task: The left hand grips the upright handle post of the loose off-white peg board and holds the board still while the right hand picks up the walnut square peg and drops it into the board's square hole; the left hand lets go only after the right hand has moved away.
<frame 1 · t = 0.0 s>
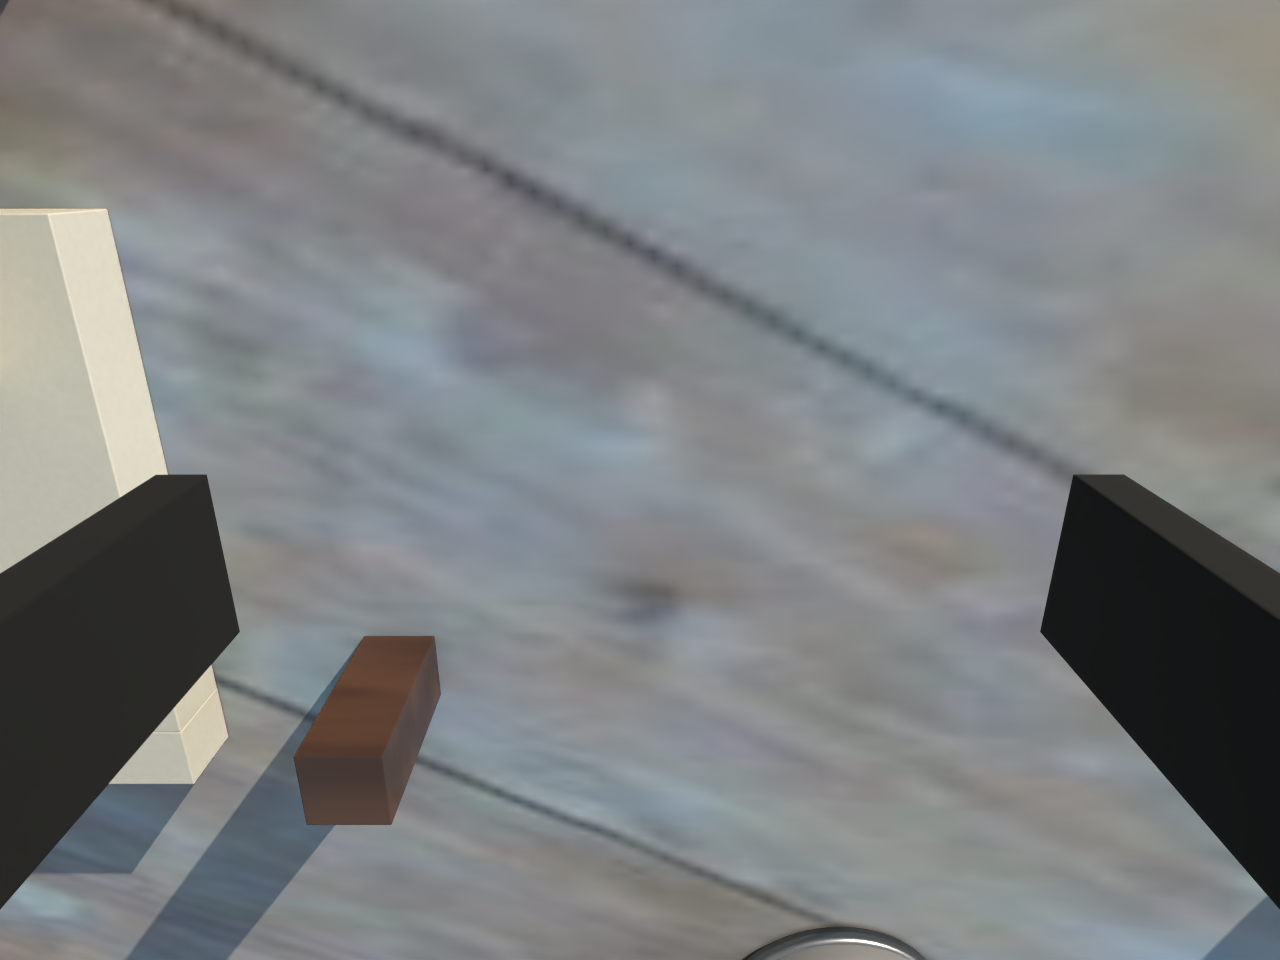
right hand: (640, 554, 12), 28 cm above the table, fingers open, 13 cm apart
peg: (403, 665, 46), on the table
peg board: (63, 506, 43), on the table
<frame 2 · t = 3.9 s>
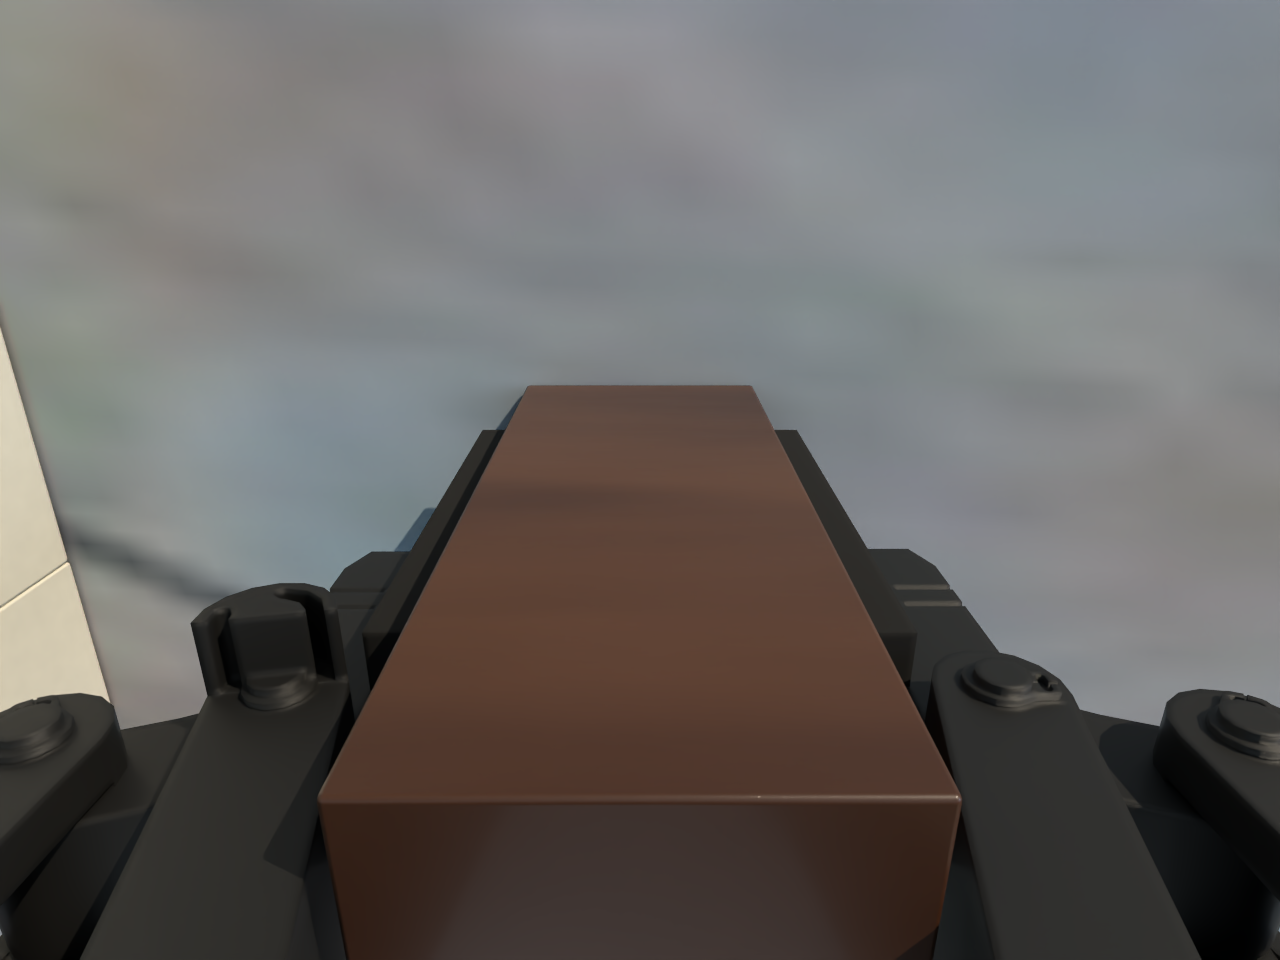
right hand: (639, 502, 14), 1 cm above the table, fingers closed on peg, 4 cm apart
peg: (639, 489, 15), on the table, touching right hand
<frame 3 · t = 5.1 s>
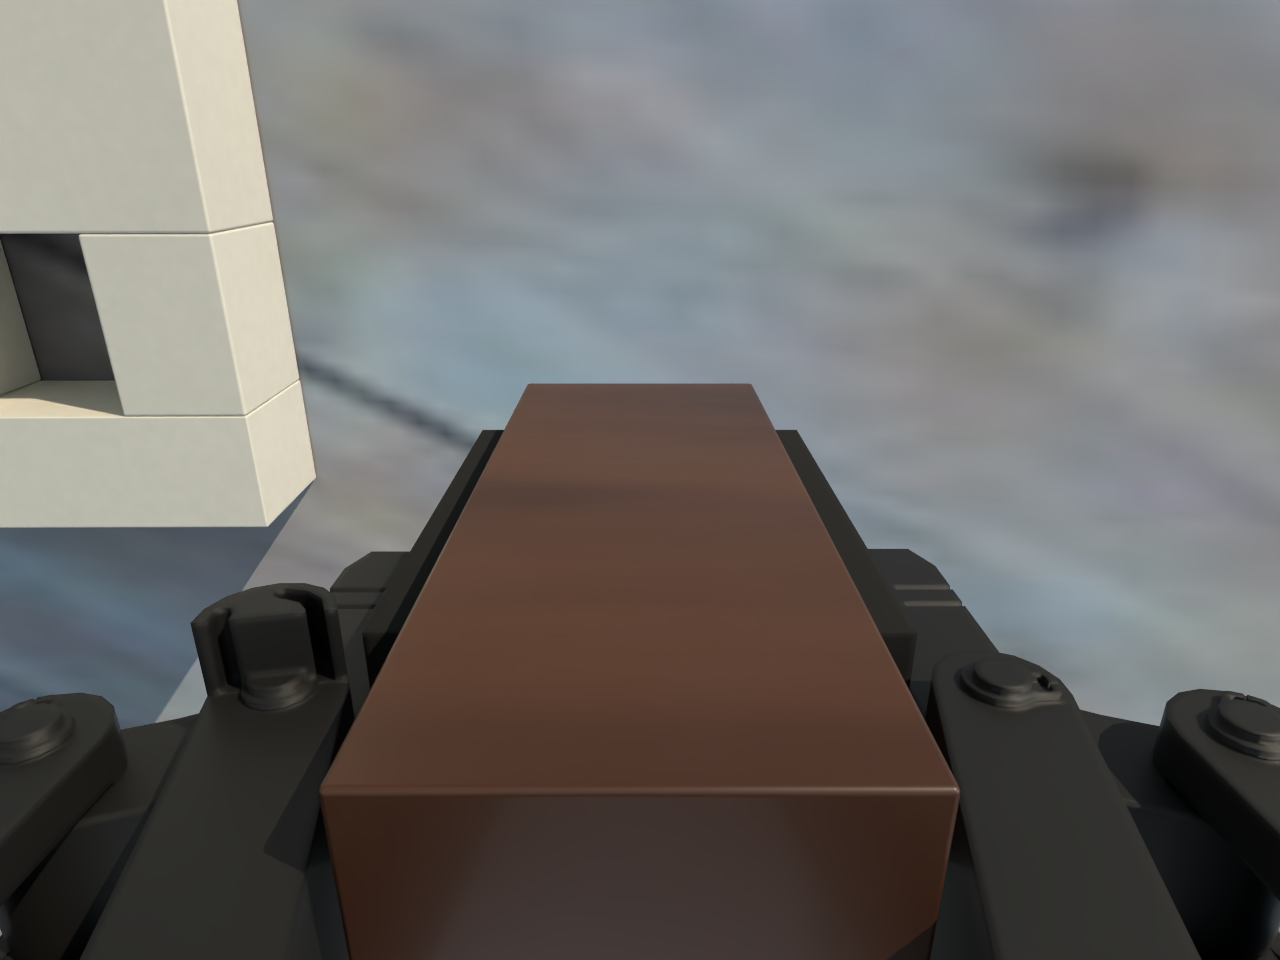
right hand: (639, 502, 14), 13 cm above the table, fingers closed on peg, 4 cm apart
peg: (639, 487, 15), point 12 cm above the table, touching right hand
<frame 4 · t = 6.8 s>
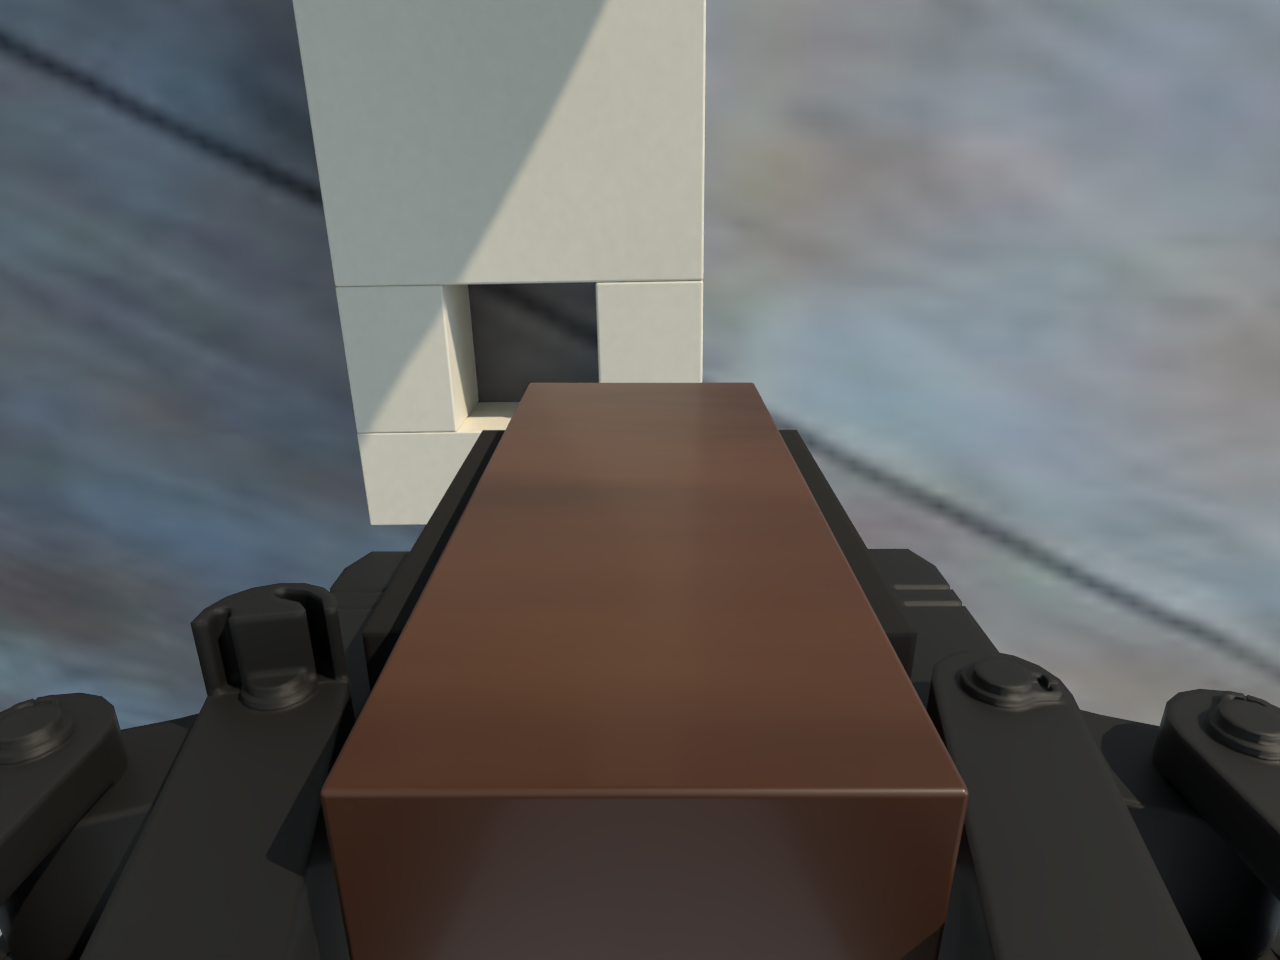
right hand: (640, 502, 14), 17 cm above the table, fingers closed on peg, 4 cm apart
peg: (641, 486, 15), point 17 cm above the table, touching right hand
peg board: (522, 75, 27), on the table, touching left hand
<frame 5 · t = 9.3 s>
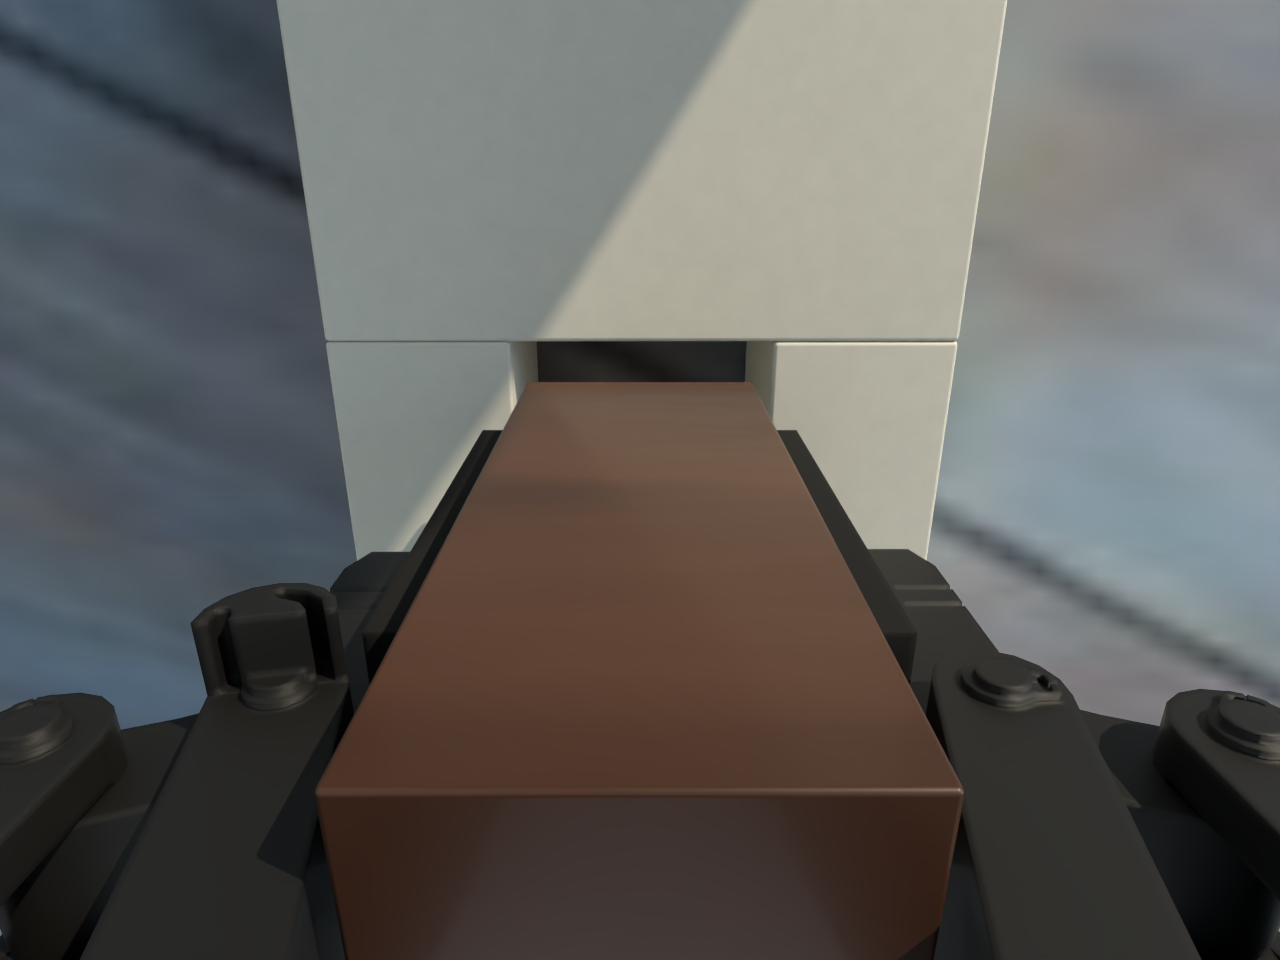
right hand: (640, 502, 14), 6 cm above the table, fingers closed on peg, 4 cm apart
peg: (639, 486, 15), point 5 cm above the table, touching right hand
when the right hand's fingers open (6 cm above the table, at t = 9.9 s): peg drops 5 cm, resting in peg board.
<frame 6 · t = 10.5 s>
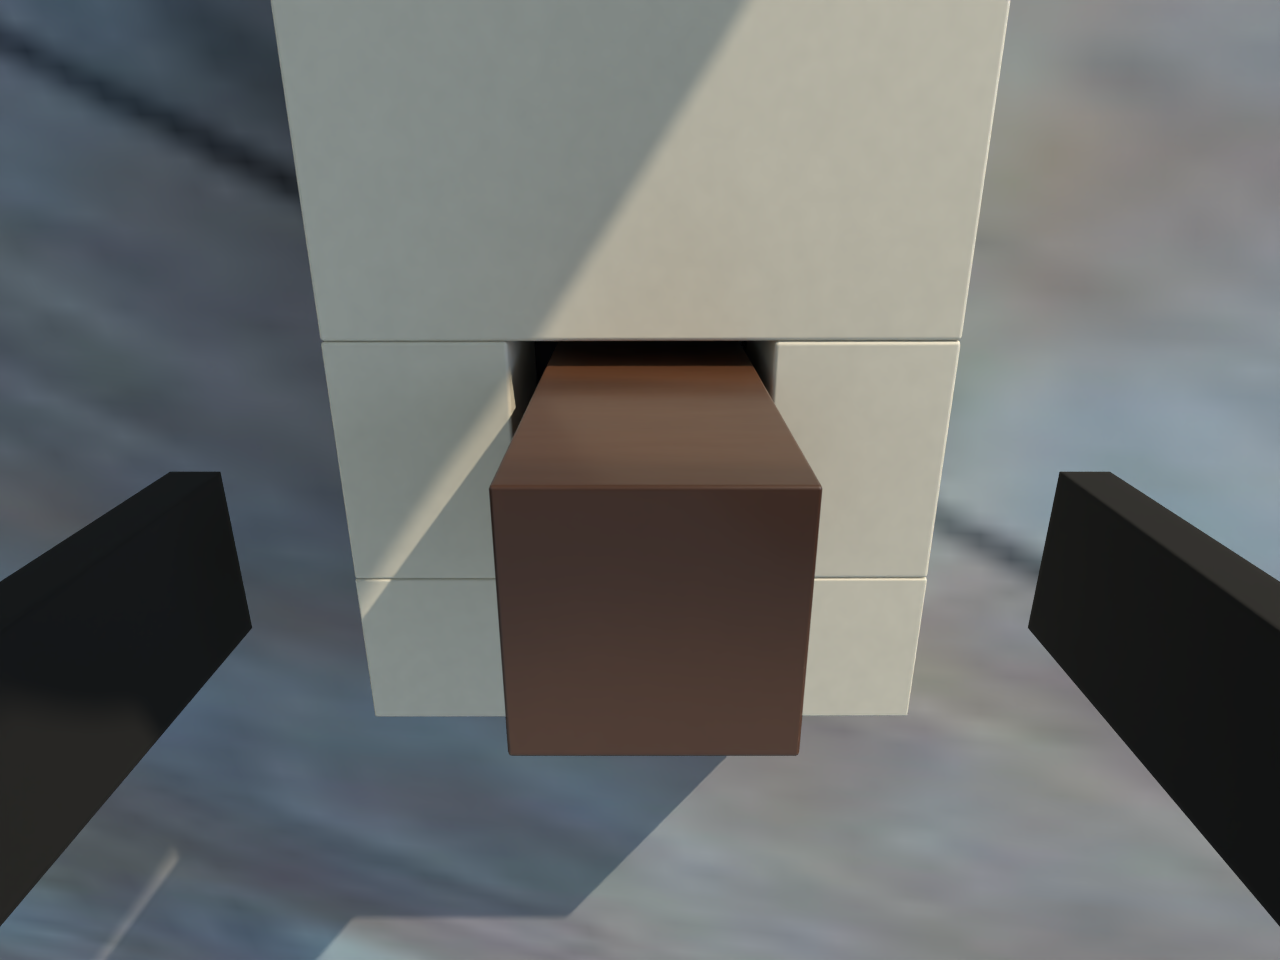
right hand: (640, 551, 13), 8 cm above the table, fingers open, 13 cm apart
peg: (647, 410, 20), resting in peg board
when the left hand's fingers open (6 cm above the table, at t = 13.5 s): peg board stays where it is, on the table.
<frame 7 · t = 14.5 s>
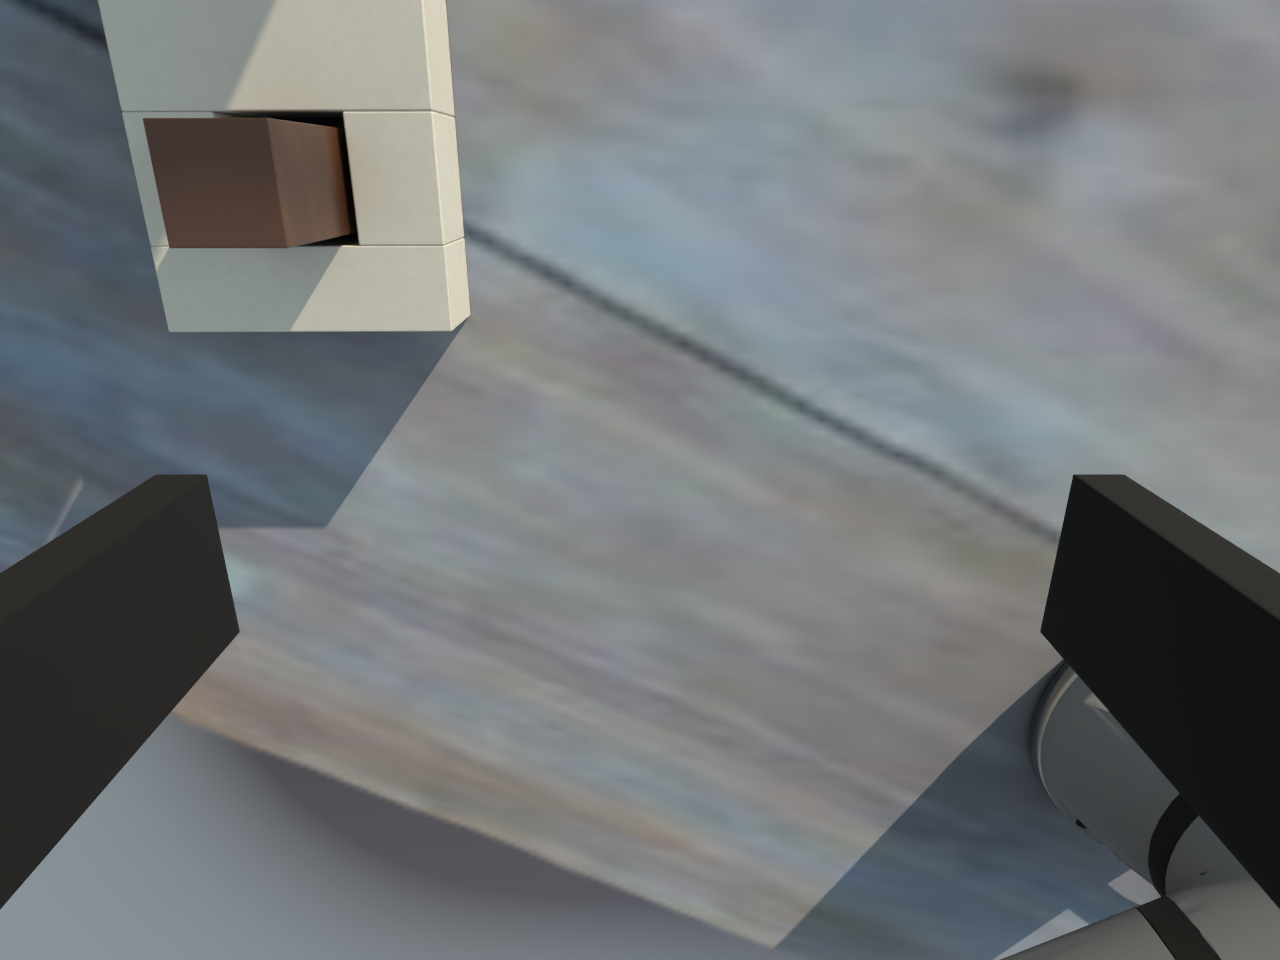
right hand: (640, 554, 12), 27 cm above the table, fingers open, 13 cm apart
peg: (328, 180, 35), resting in peg board
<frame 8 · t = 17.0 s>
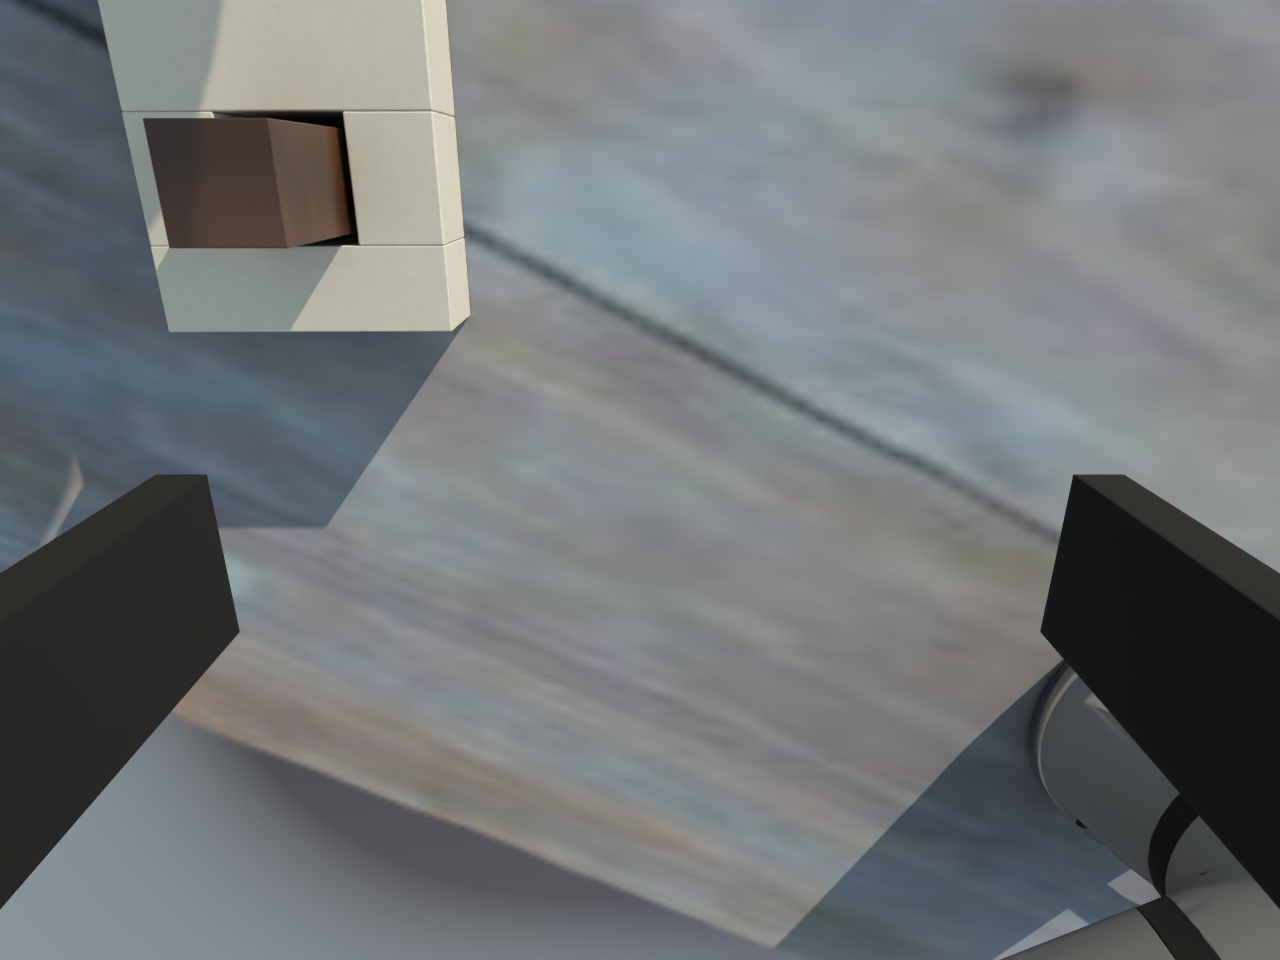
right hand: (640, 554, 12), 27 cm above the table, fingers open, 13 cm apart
peg: (328, 180, 35), resting in peg board
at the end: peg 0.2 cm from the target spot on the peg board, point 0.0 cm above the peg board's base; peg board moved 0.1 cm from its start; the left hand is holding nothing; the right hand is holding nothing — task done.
